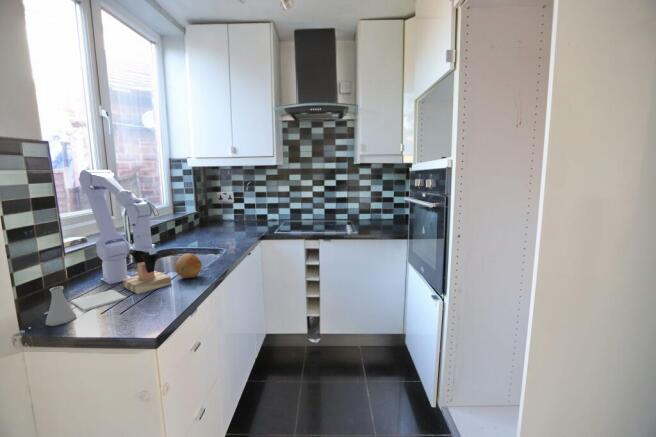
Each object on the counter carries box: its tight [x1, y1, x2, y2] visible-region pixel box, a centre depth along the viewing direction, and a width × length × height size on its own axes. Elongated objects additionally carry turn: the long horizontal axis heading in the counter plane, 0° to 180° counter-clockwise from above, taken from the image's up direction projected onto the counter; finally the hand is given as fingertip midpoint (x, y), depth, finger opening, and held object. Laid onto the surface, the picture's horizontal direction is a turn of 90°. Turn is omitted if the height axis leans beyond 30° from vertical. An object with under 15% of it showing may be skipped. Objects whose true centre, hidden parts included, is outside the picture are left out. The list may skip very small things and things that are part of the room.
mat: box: [70, 289, 127, 312], centre depth 107 cm, size 12×12×1 cm
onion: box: [174, 253, 202, 279], centre depth 127 cm, size 10×10×10 cm
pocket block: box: [122, 270, 172, 295], centre depth 120 cm, size 12×12×3 cm
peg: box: [136, 262, 155, 281], centre depth 119 cm, size 4×4×9 cm
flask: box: [45, 285, 77, 327], centre depth 92 cm, size 7×7×10 cm
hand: (145, 270), depth 119 cm, fingers open, 7 cm apart
